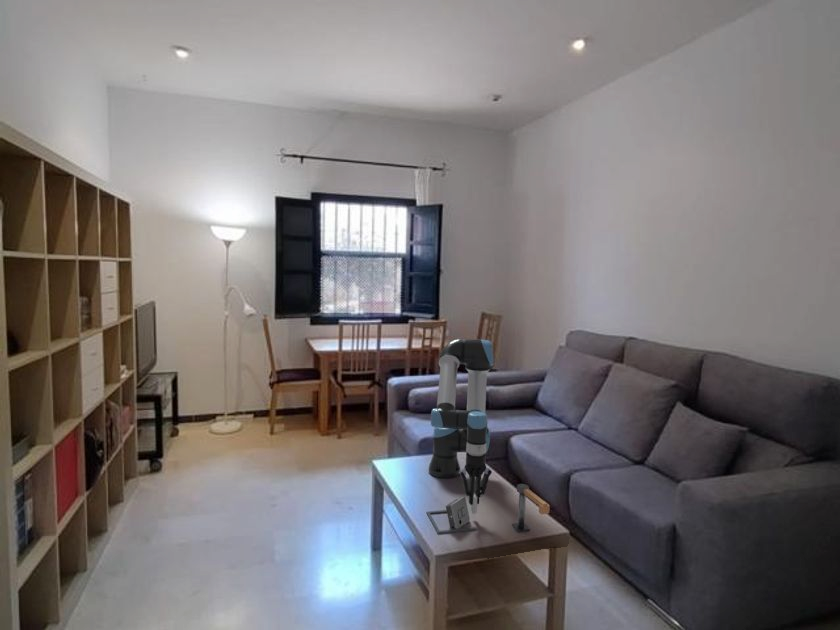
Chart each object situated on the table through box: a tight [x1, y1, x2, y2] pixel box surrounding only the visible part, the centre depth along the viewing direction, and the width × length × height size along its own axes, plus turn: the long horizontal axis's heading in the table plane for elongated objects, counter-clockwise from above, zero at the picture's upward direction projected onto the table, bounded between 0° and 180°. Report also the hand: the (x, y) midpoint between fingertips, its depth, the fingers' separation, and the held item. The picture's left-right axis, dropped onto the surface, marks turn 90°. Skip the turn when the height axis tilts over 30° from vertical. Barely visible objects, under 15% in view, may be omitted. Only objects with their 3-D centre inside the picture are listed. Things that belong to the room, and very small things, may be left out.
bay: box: [425, 509, 478, 535], centre depth 191 cm, size 16×15×1 cm
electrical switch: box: [445, 496, 471, 529], centre depth 189 cm, size 9×5×9 cm, turn 143°
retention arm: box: [516, 483, 551, 515], centre depth 180 cm, size 17×4×4 cm, turn 20°
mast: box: [511, 492, 531, 533], centre depth 187 cm, size 5×5×14 cm
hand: (473, 511), depth 193 cm, fingers closed
